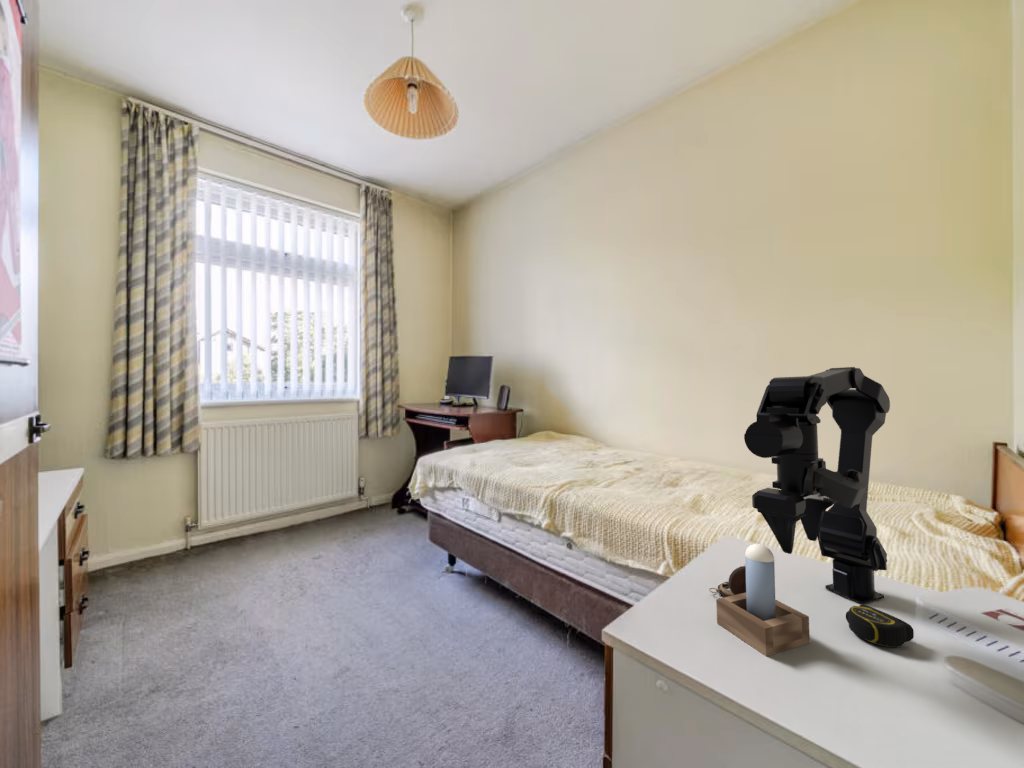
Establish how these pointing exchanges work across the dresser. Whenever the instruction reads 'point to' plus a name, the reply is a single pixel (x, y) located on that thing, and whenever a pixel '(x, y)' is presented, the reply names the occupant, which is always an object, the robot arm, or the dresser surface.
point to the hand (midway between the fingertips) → (800, 546)
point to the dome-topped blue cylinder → (760, 582)
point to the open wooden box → (763, 625)
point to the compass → (733, 583)
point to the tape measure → (878, 626)
